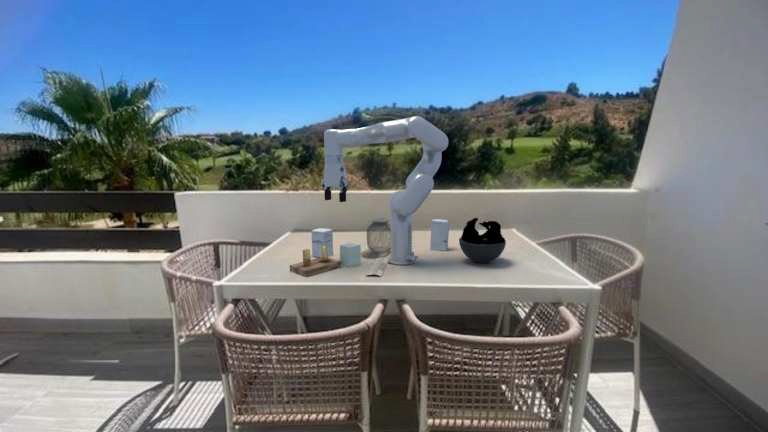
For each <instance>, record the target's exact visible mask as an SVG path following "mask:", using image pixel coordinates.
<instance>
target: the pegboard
mask: <svg viewBox="0 0 768 432" xmlns="http://www.w3.org/2000/svg"><path fill="white" fill-rule="evenodd" d="M342 267H343V265H342V262H341V261H340V260H337V259H334V258H330V257H328V262H326V263H321V257H317V258H314V259H311V249H308V248H306V249H302V261H300V262H297V263H294V264H289V272H292V273H294V274H297V275H300V276H303V277H306V278H309V277H311V276H315V275H318V274H322V273H326V272H328V271H329V272H330V271H332V270H336V269H340V268H342Z"/></svg>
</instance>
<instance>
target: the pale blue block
mask: <svg viewBox="0 0 768 432" xmlns="http://www.w3.org/2000/svg"><path fill="white" fill-rule="evenodd" d="M361 245H362V244H359V243H356V242H348V243H343V244H339V261H341V262H342V266H345V267H348V268H352V267H355V266H358V265H361V264H362V258H361V257H362V255H361V254H362V253H361V251H362V250H361V249H362V248H361Z"/></svg>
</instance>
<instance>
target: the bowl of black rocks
mask: <svg viewBox="0 0 768 432" xmlns="http://www.w3.org/2000/svg"><path fill="white" fill-rule="evenodd" d="M478 221H479V218H478V217H474V218H472V219H470V220H468V221H467V222H466V225H465V226H464V228H463V229H462V230H463V231H462V235H461V237H460V238H459V239H458V244H459V247H460V249H461V251H462V253H463V254H464V255H465V256H466V257H467V258H468V259H469V260H471V261H474V262H476V263H481V264H483V263H490V262H493V261H494V260H497V258H499V257H500V256H501V255H502V253H503V251H505V250H504V249H505V248H506V245H507V241H506V238H505V237H503V235H502V230H501V229H502V225H501V224H500V223H499V222H498V221H495V220H488V221H486V220H485V221H483V222H479V223H478V224H479V225H480V226H482V227H484V228H485V229H486V230H485V232H484V233H482V234H480V233H479V231H478V230H477V229H476V223H477V222H478Z"/></svg>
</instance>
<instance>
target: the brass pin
mask: <svg viewBox="0 0 768 432" xmlns="http://www.w3.org/2000/svg"><path fill="white" fill-rule="evenodd" d="M320 258H321V263H326V262H328V258H329V257H328V246H326V245H324V246H321V257H320Z"/></svg>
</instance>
